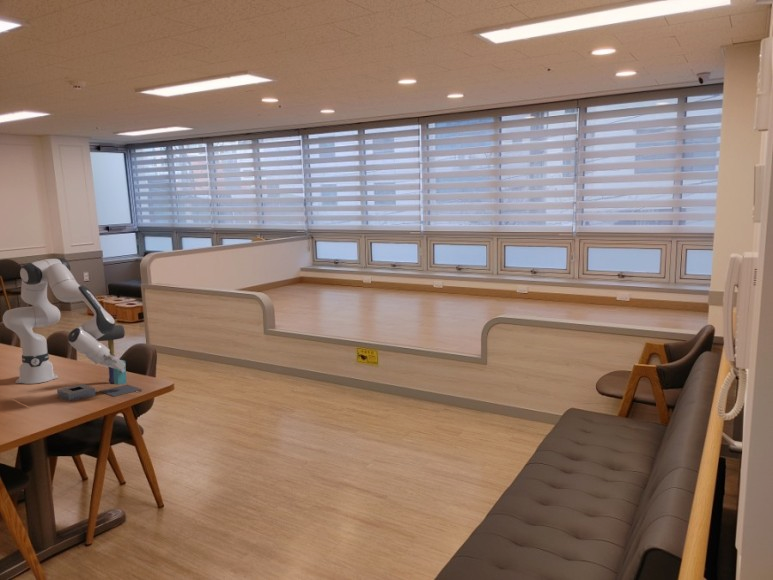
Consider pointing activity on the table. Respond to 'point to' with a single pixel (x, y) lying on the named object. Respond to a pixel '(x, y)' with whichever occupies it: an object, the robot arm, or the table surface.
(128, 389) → the pad
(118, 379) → the peg
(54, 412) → the table surface
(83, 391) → the socket base
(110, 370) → the rubber mallet
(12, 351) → the table surface
